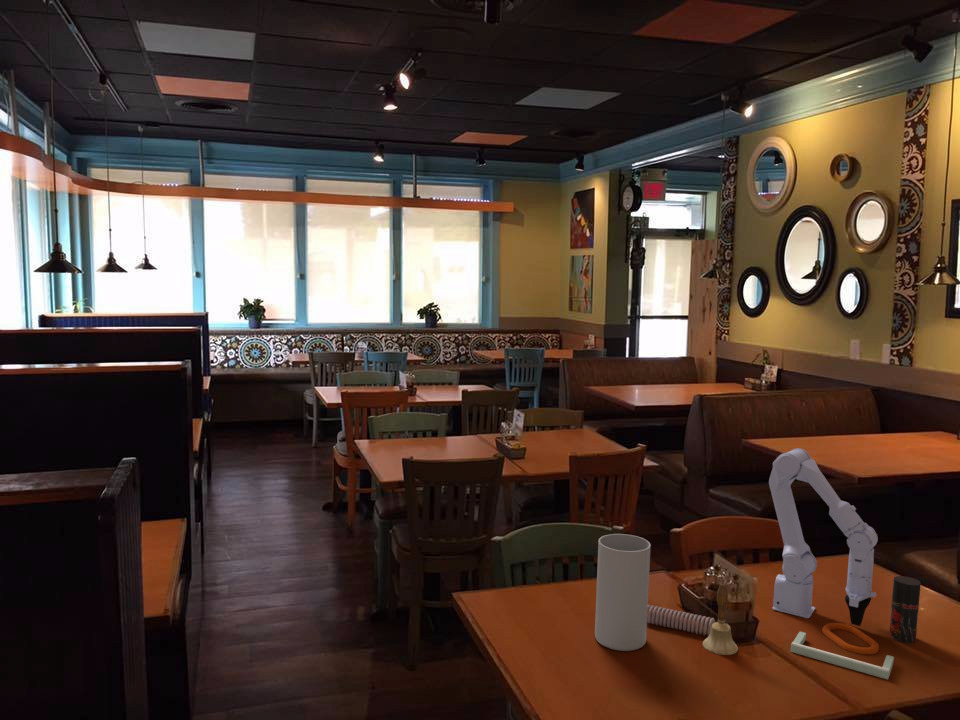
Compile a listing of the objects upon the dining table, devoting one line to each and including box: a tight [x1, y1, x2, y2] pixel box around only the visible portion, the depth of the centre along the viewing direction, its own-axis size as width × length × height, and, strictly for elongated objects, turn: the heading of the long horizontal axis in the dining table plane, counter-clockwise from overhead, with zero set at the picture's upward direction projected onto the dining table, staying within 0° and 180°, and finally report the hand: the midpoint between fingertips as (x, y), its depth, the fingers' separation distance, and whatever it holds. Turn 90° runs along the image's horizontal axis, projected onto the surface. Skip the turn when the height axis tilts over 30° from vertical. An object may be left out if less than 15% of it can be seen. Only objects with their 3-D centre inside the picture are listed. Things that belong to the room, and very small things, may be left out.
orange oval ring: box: [821, 622, 880, 656], centre depth 189 cm, size 10×2×15 cm
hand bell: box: [702, 583, 739, 656], centre depth 184 cm, size 8×8×16 cm
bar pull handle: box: [790, 631, 895, 680], centre depth 180 cm, size 21×9×2 cm, turn 54°
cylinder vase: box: [594, 533, 652, 652], centre depth 186 cm, size 12×12×25 cm
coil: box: [647, 604, 716, 637], centre depth 194 cm, size 5×5×18 cm
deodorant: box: [888, 575, 922, 644], centre depth 191 cm, size 6×6×15 cm
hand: (856, 624), depth 196 cm, fingers closed
